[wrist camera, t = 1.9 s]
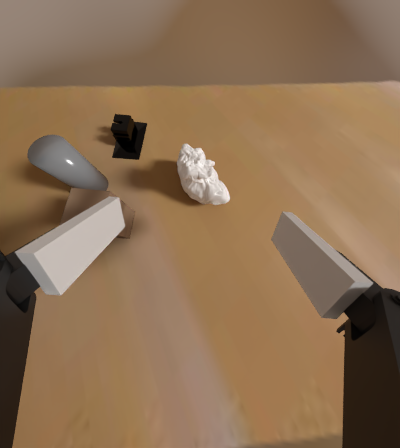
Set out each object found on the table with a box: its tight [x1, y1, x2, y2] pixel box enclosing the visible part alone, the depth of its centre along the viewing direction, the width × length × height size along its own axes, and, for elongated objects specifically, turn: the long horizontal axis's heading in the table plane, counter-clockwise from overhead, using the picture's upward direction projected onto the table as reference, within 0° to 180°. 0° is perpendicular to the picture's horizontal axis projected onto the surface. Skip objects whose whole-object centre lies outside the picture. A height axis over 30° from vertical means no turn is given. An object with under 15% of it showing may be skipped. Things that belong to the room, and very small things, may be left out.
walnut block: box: [59, 188, 135, 239], centre depth 22 cm, size 5×5×8 cm
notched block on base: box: [111, 114, 147, 160], centre depth 29 cm, size 12×7×5 cm, turn 175°
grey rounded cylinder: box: [28, 135, 108, 191], centre depth 23 cm, size 5×5×9 cm
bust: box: [177, 144, 230, 205], centre depth 24 cm, size 12×8×11 cm
